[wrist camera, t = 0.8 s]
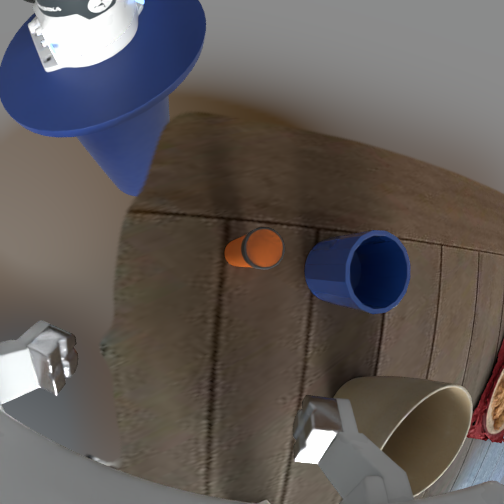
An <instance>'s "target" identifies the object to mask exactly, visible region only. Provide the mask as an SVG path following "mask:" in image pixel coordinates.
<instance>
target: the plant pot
mask: <svg viewBox="0 0 504 504" xmlns="http://www.w3.org/2000/svg"><path fill="white" fill-rule="evenodd" d="M334 398H342V399H349V400H350V402H351V406H352V410H353V413H354V417H355V421H356V424H357V428H358V432H359V433H363V434H364V435H365V436H366V437H367V438H368V439H369V440H370V441H372V442H373V443H374V444H375V445H376V446H377V447H378V448H379V449H380V450H381V451H383V452H384V453H385V454H386V455H387V456H388V457H389V458H390V459H391V460H393V461H394V462H395V463H396V464H397V465H398V466H399V467H400V468H402V469H403V470H404V471H405V472H406V474H407V477H408V480H409V483H410V487H411V490H412V493H413V497H415V496H417V495H418V494H420V493H421V492H423V491H424V490H426V489H427V488H428V487H429V486H431V485H432V484H433V483H434V482H435V481H436V480H437V479H438V478H439V477H440V476H441V475H442V474H443V473H444V472H445V471H446V470H447V468H448V467H449V466H450V465H451V463H452V462H453V460H454V459H455V458H456V456H457V454H458V453H459V451H460V449H461V447H462V445H463V443H464V441H465V439H466V436H467V434H468V431H469V428H470V424H471V419H472V400H471V396H470V394H469V392H468V391H467V390H466V389H465V388H464V387H463V386H460V385H456V384H450V383H444V382H438V381H432V380H426V379H419V378H409V377H395V376H371V377H359V378H354V379H352V380H350V381H348V382H346V383H345V384H344V385H343V386H342V387H341V388H340V389H339V390H338V391H337V393H336V394H335V396H334Z"/></svg>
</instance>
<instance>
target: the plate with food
mask: <svg viewBox="0 0 504 504" xmlns="http://www.w3.org/2000/svg"><path fill="white" fill-rule="evenodd" d="M492 373H493V374H492V377H491V378H490V380H489V382H488V384H487V386H486V389H485V390H484V392H483V394H482V396H481V400H480V401H479V405H478V406H477V408H475V410H474V413H473V415H472V419H471V424H470V428H469V431H468V434H467V436H466V437H468V438H475V439H481V440H485V441H487V439H488V438H489V439H490V440H491V442H497V443H498V442H499V443H502V441H503V442H504V439H503V437H504V339H503V343H502V346H501V349H500V351H499V353H498V361H497V363H496V366H495V367H494V369H493V372H492ZM475 420H476V423H475V425H474V426H472V423H473V422H474V421H475Z"/></svg>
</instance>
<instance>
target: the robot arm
mask: <svg viewBox="0 0 504 504" xmlns="http://www.w3.org/2000/svg"><path fill="white" fill-rule="evenodd" d="M24 1H26V2H29V3H34V5H33V10H34V12H35V14H36V17H35V18H34V19H33V20H32V21H31V22H30V23H29V24H28V26H29V30H30V33H31V36H32V39H33V42H34V44H35V47H36V49H37V52H38V55H39V57H40V60H41V62H42V65H43V67H44V69H45V71H46V72H52V71H55V70H58V69H61V68H65V67H73V68H77V67H86V66H90V65H94V64H97V63H100V62H102V61H104V60H106V59H108V58H110V57H112V56H114V55H115V54H117V53H118V52H119V51H121V50H122V49H123V48H124V47H125V46H126V45H127V44H128V43H129V42H130V41H131V40H132V38H133V37H134V35H135V33H136V31H137V28H138V16H139V14H140V13H141V11H142V9H143V4H144V0H24ZM75 345H76V337H75V336H74V335H73V334H72V333H69V332H67V331H65V330H63V329H60V328H58V327H56V326H54V325H51V324H49V323H47V322H44V321H38V322H37V323H36V324H35V325H34V326H32V327H31V328H30V329H29V330H28V331H27V332H25V333H24V334H23V335H22V336H21V337H20V338H18V339H17V340H16V341H15V340H9V341H4V342H0V504H257V503H249V502H242V501H235V500H229V499H223V498H217V497H212V496H207V495H202V494H197V493H193V492H189V491H184V490H180V489H176V488H173V487H169V486H165V485H162V484H158V483H155V482H152V481H148V480H145V479H142V478H139V477H136V476H133V475H130V474H127V473H125V472H122V471H119V470H116V469H114V468H111V467H109V466H106V465H104V464H101V463H99V462H96V461H94V460H92V459H89V458H87V457H85V456H82V455H80V454H78V453H76V452H74V451H72V450H70V449H68V448H66V447H64V446H62V445H59V444H58V443H56V442H54V441H52V440H50V439H48V438H46V437H44V436H43V435H41V434H39V433H37V432H36V431H34V430H32V429H30V428H29V427H27V426H25V425H24V424H22V423H21V422H19V421H17V420H16V419H14V418H13V417H11V416H10V415H8V414H6V413H5V411H4V409H3V407H2V405H1V404H3V403H5V402H8V401H10V400H12V399H14V398H17V397H19V396H21V395H23V394H26V393H28V392H30V391H32V390H34V389H36V388H38V386H39V387H41V388H43V389H45V390H47V391H49V392H51V393H54V394H56V395H57V394H58V393H59V392H60V391H61V389H62V388H63V387H64V385H65V384H66V383H65V379H66V378H69V377H72V375H73V374H74V373H75V371H76V368H77V365H78V353H77V352H76V350H75V349H74V346H75ZM293 437H294V438H295V439H296V442H295V444H294V446H293V451H294V461H299V462H309V463H318V465H319V467H320V468H321V470H322V471H323V472H324V474H325V475H326V477H327V478H328V479H329V481H330V482H331V483H332V485H333V486H334V487H335V489H336V490H337V491H338V493H339V494H340V495H341V497H342V498H343V500H342V501H341V502H340V503H339V504H504V485H503V484H501V483H499V482H497V481H488V482H484V483H481V484H478V485H475V486H471V487H468V488H464V489H461V490H457V491H453V492H449V493H445V494H440V495H436V496H431V497H426V498H421V499H415V500H414V497H413V493H412V490H411V487H410V483H409V480H408V477H407V474H406V472H405V471H404V470H403V469H402V468H400V467H399V466H398V465H397V464H396V463H395V462H394V461H393V460H391V459H390V458H389V457H388V456H387V455H386V454H385V453H384V452H383V451H381V450H380V449H379V448H378V447H377V446H376V445H375V444H374V443H373V442H372V441H370V440H369V439H368V438H367V437H366V436H365V435H364V434H363V433H359V432H358V428H357V424H356V421H355V417H354V413H353V410H352V406H351V402H350V400H349V399H342V398H329V397H320V396H311V395H306V396H305V397H304V399H303V401H302V409H301V410H299V411H298V412H297V414H296V416H295V419H294V423H293Z"/></svg>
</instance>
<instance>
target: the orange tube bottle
mask: <svg viewBox="0 0 504 504" xmlns="http://www.w3.org/2000/svg"><path fill="white" fill-rule="evenodd" d="M284 252H285V245H284V241H283V239H282V237H281V236H280V234H279V233H278V232H277V231H275V230H274V229H271V228H268V227H260V228H256V229H254V230H252V231H250V232H249V233H248V234H246V235H244V236H242V237H240V238H237V239H235V240H233V241H231V242H230V243H228V244H227V246H226V248H225V252H224V254H225V258H226V260H227V262H228V263H229V264H231V265H233V266H238V267H253V268H256V269H270V268H273V267H275V266H276V265H278V264H279V263H280V261H281V260H282V258H283V256H284Z"/></svg>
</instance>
